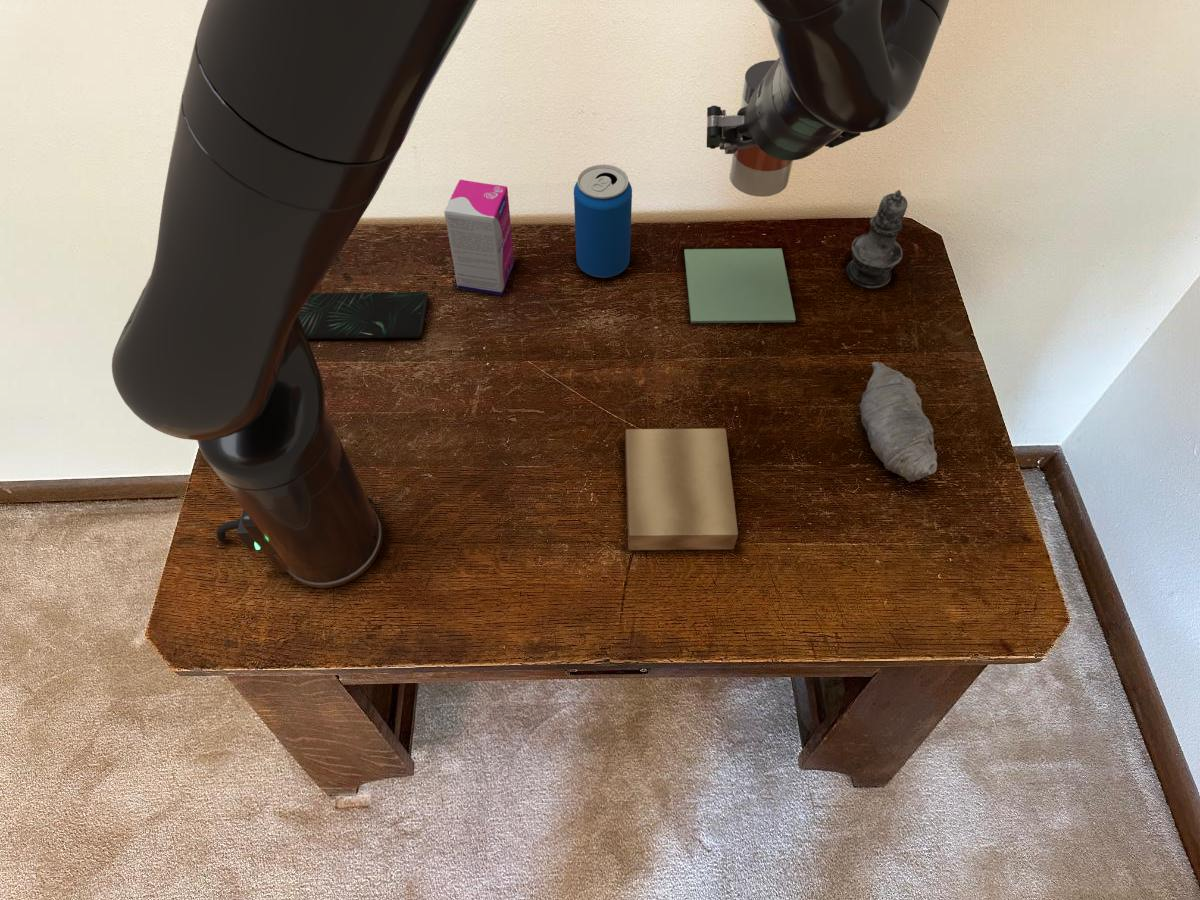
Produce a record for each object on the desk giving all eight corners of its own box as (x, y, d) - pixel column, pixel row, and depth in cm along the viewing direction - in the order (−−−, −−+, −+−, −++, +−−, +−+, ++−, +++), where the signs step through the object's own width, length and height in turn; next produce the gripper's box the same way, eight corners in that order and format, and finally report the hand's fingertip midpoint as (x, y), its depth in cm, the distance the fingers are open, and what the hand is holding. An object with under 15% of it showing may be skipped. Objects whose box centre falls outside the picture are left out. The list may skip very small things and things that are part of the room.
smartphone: (300, 292, 93) (428, 290, 93) (303, 298, 94) (429, 296, 94) (287, 336, 89) (420, 334, 89) (290, 342, 90) (422, 340, 90)
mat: (690, 323, 91) (691, 320, 91) (684, 251, 98) (684, 249, 98) (795, 322, 91) (796, 320, 91) (781, 250, 98) (781, 248, 98)
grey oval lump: (909, 360, 84) (925, 336, 77) (931, 486, 82) (950, 474, 74) (847, 368, 85) (857, 345, 78) (867, 493, 83) (879, 481, 75)
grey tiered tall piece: (835, 261, 97) (861, 178, 87) (878, 251, 98) (909, 168, 88) (858, 294, 94) (888, 212, 84) (902, 284, 95) (937, 201, 85)
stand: (628, 550, 75) (629, 535, 73) (624, 445, 82) (625, 428, 79) (734, 549, 75) (738, 534, 73) (722, 445, 82) (725, 427, 79)
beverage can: (639, 257, 98) (643, 174, 88) (611, 289, 95) (612, 207, 85) (594, 238, 100) (593, 155, 90) (566, 269, 96) (561, 186, 87)
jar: (726, 159, 83) (732, 197, 80) (741, 59, 74) (749, 97, 71) (783, 159, 83) (792, 196, 80) (805, 59, 74) (816, 96, 71)
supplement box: (504, 296, 94) (493, 218, 84) (456, 289, 95) (440, 211, 85) (517, 262, 97) (507, 184, 88) (470, 256, 98) (456, 177, 88)
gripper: (712, 152, 64) (690, 182, 81) (891, 150, 64) (831, 181, 81) (714, 52, 63) (690, 104, 79) (896, 50, 63) (835, 102, 79)
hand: (762, 142), depth 80 cm, fingers closed on jar, 6 cm apart
